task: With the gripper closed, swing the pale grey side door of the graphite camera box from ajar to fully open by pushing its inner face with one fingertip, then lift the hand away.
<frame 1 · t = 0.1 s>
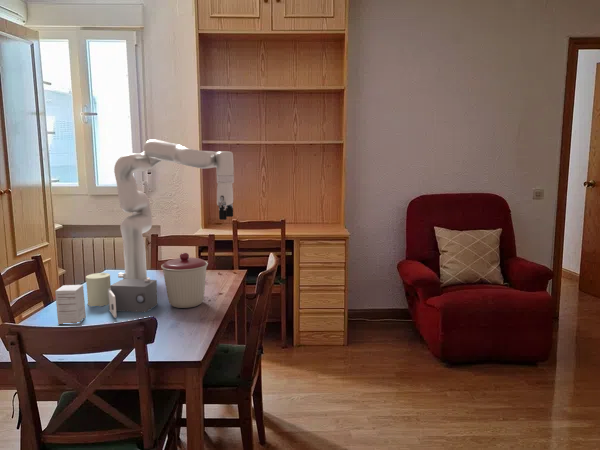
hand: (226, 218, 214), 31 cm above the table, tool pointing down, fingers open, 9 cm apart
canister: (186, 304, 192), on the table
side door: (111, 303, 179), point 5 cm above the table, hinge at 50.0°
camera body: (135, 307, 189), on the table
supplement box: (72, 321, 174), on the table
can: (100, 303, 194), on the table
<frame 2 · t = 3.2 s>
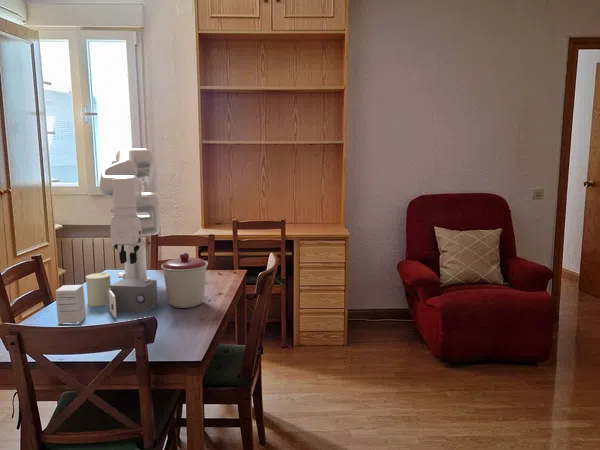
hand: (128, 262, 172), 21 cm above the table, tool pointing down, fingers open, 3 cm apart
nothing on the table moved.
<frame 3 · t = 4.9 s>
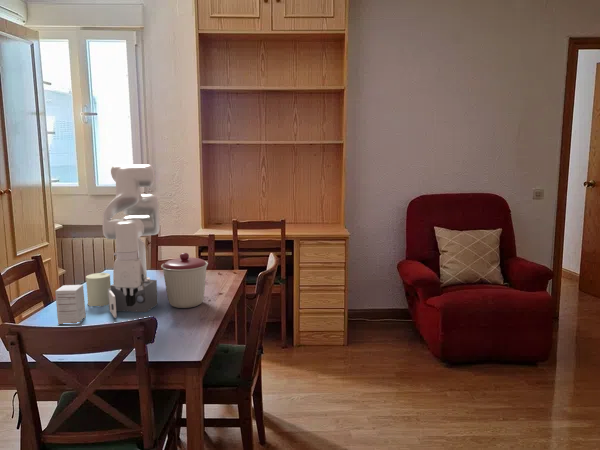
hand: (131, 305, 174), 5 cm above the table, tool pointing down, fingers closed
nothing on the table moved.
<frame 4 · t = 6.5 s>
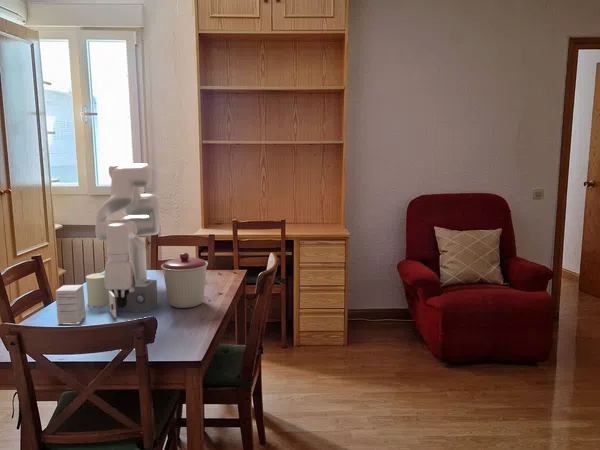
hand: (122, 306, 175), 5 cm above the table, tool pointing down, fingers closed
side door: (111, 303, 179), point 5 cm above the table, hinge at 50.6°, touching gripper
everything else where it was.
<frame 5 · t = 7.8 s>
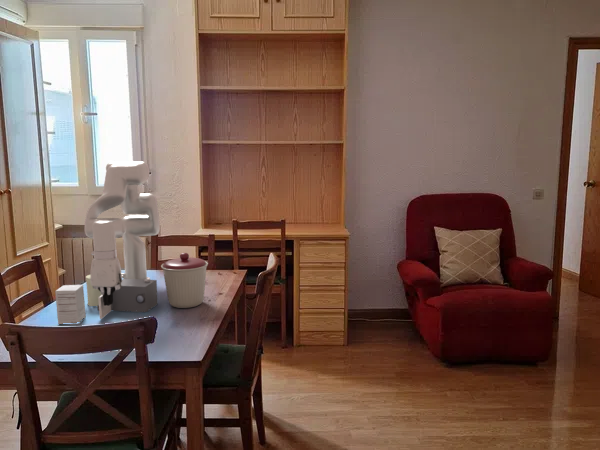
hand: (108, 304, 175), 6 cm above the table, tool pointing down, fingers closed
side door: (104, 303, 179), point 5 cm above the table, hinge at 79.6°, touching gripper
everything else where it was.
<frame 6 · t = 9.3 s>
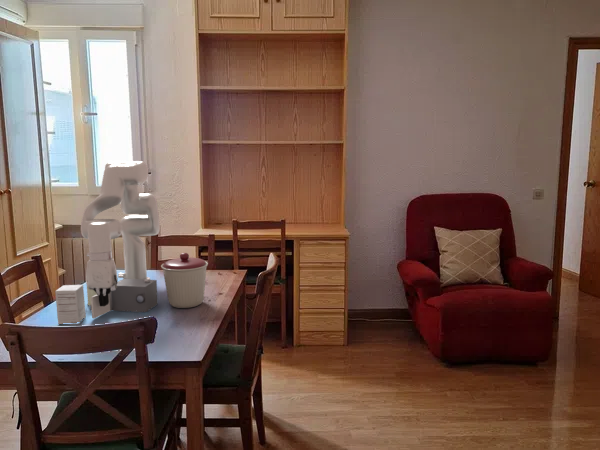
hand: (104, 305, 176), 5 cm above the table, tool pointing down, fingers closed
side door: (101, 303, 179), point 5 cm above the table, hinge at 97.3°
everything else where it was.
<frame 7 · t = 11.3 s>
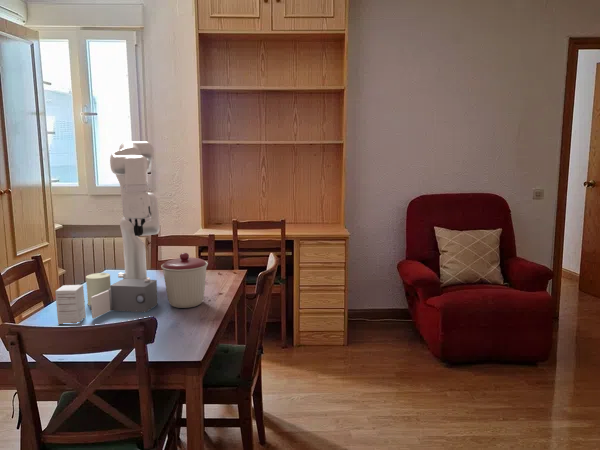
hand: (138, 235, 189), 28 cm above the table, tool pointing down, fingers closed
nothing on the table moved.
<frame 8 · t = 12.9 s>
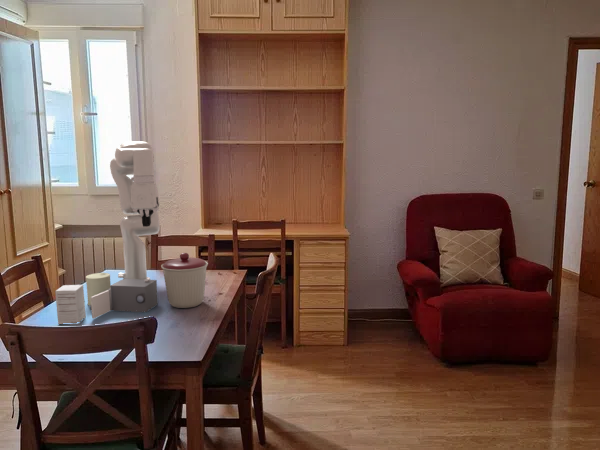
hand: (146, 225, 193), 31 cm above the table, tool pointing down, fingers closed
nothing on the table moved.
at the end: side door at +97° (first picture: +50°) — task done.
